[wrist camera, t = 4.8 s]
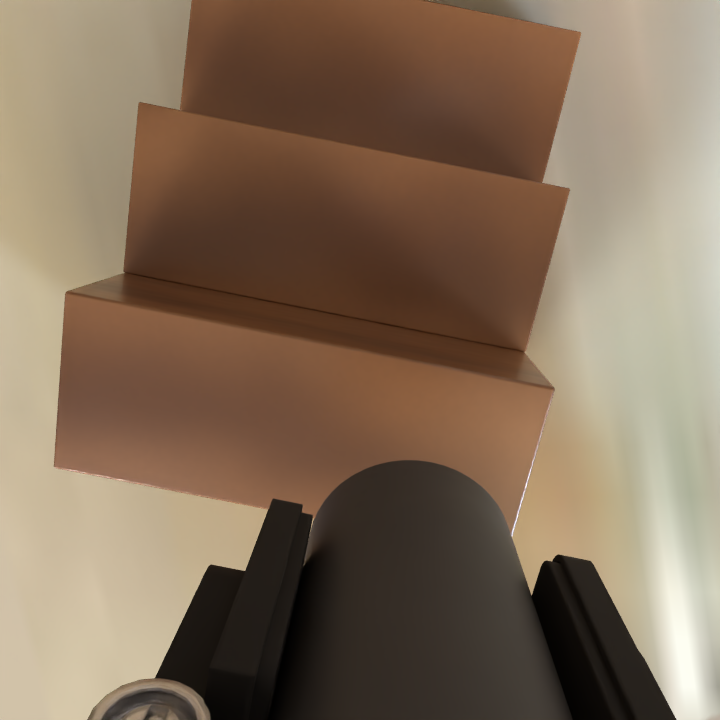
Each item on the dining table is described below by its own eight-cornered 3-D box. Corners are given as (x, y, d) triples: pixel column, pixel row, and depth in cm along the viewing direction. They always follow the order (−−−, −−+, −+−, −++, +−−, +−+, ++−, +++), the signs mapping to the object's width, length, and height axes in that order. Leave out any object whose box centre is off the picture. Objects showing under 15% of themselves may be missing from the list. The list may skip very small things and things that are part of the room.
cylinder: (327, 440, 12) (245, 780, 5) (534, 480, 12) (718, 871, 5) (295, 614, 13) (190, 1079, 6) (482, 651, 13) (580, 1154, 6)
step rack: (218, -19, 25) (94, -173, 14) (559, 50, 25) (684, -52, 15) (173, 368, 29) (52, 468, 19) (464, 425, 30) (506, 557, 19)
